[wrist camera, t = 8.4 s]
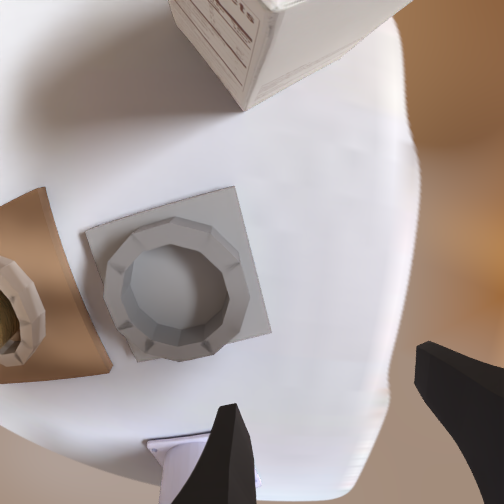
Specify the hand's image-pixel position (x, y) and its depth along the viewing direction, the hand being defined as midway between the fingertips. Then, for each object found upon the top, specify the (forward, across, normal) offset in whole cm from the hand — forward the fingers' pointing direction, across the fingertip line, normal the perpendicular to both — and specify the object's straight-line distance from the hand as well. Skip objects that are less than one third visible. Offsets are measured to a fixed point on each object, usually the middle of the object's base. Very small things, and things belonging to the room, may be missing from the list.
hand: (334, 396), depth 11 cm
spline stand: (+9, +6, -3) cm, 12 cm away
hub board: (+9, +20, -4) cm, 22 cm away
